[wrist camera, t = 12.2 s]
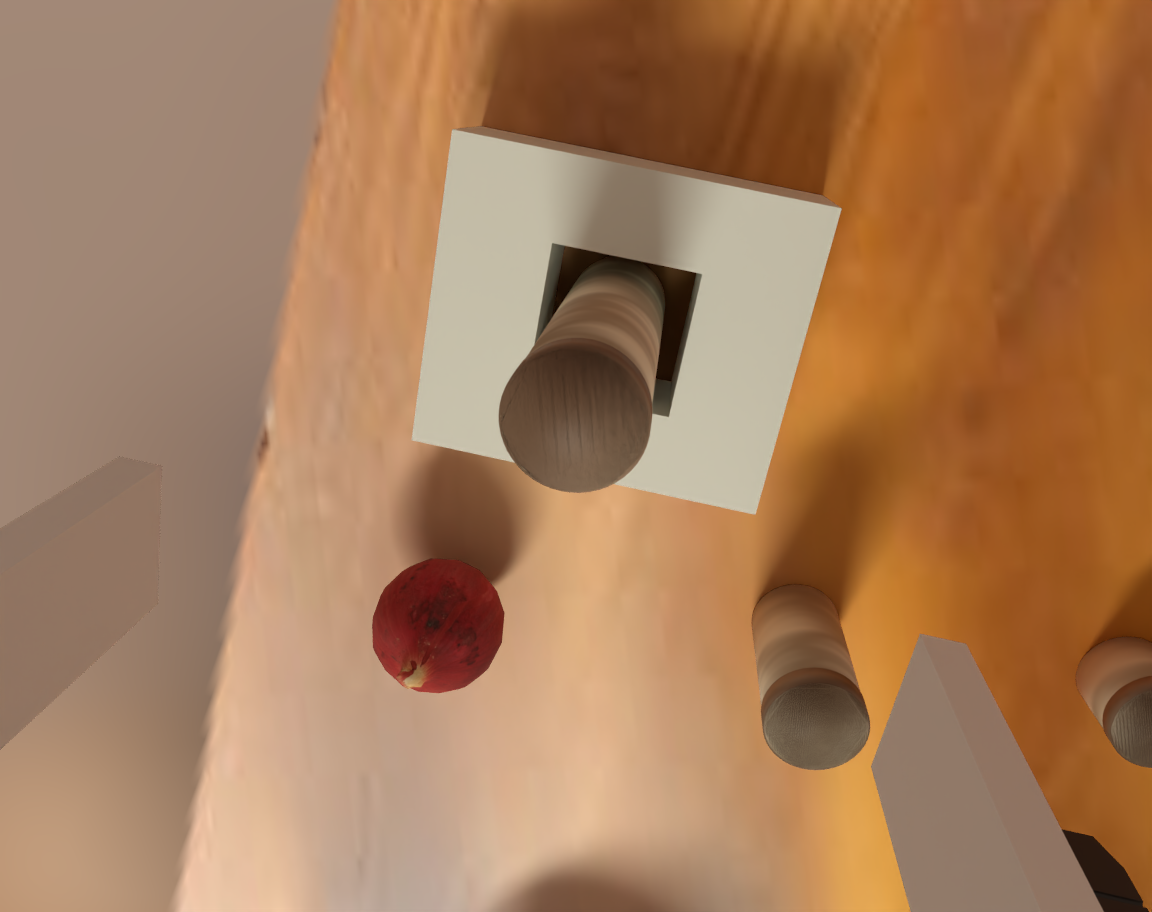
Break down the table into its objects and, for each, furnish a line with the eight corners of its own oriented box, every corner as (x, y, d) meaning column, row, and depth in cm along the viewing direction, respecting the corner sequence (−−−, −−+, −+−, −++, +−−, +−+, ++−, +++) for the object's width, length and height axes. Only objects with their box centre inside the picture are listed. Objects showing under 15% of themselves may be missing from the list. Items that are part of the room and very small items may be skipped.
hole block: (822, 195, 38) (841, 208, 33) (748, 469, 42) (755, 514, 37) (481, 126, 38) (452, 129, 34) (442, 403, 43) (411, 440, 38)
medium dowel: (850, 594, 44) (883, 695, 36) (825, 668, 45) (852, 780, 38) (762, 575, 44) (778, 671, 36) (741, 649, 45) (751, 757, 38)
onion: (424, 511, 45) (371, 593, 37) (535, 562, 45) (504, 654, 37) (383, 607, 47) (324, 703, 39) (489, 655, 47) (451, 760, 40)
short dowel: (1184, 646, 43) (1232, 698, 39) (1148, 720, 44) (1190, 777, 40) (1094, 626, 43) (1133, 676, 39) (1061, 701, 44) (1094, 755, 41)
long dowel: (675, 265, 39) (665, 364, 24) (655, 359, 41) (633, 506, 26) (579, 246, 40) (511, 332, 25) (562, 340, 41) (488, 475, 26)
